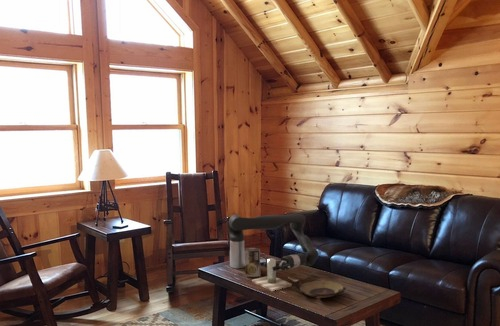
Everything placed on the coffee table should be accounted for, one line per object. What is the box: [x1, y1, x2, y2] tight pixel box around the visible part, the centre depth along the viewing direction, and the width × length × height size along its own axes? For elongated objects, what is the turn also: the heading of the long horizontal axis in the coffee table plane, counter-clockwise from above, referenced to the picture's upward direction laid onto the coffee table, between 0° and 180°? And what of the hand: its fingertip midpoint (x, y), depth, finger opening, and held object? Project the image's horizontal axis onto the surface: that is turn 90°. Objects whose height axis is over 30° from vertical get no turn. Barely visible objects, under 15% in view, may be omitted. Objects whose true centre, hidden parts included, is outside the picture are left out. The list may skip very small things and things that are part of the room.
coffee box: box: [244, 247, 261, 278], centre depth 262 cm, size 9×6×16 cm
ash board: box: [251, 275, 293, 292], centre depth 247 cm, size 19×14×1 cm
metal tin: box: [266, 257, 277, 283], centre depth 246 cm, size 5×5×13 cm
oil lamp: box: [287, 276, 347, 299], centre depth 230 cm, size 22×30×8 cm
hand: (268, 267), depth 245 cm, fingers open, 8 cm apart
